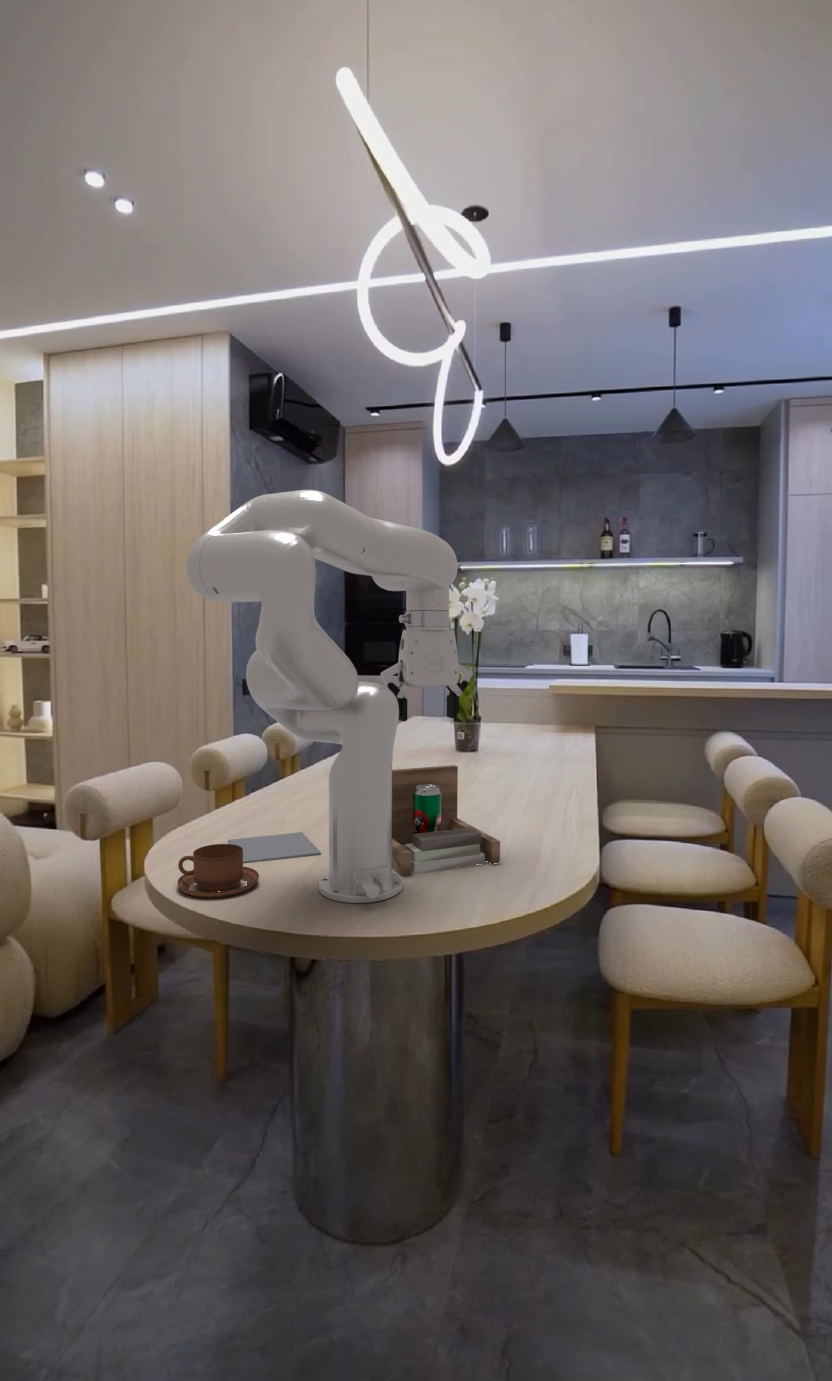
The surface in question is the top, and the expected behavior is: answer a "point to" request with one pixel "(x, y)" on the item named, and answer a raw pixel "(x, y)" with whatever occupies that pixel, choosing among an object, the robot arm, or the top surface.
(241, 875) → the cup and saucer
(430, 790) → the soda can
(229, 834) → the top surface
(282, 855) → the mat
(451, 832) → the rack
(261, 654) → the robot arm
